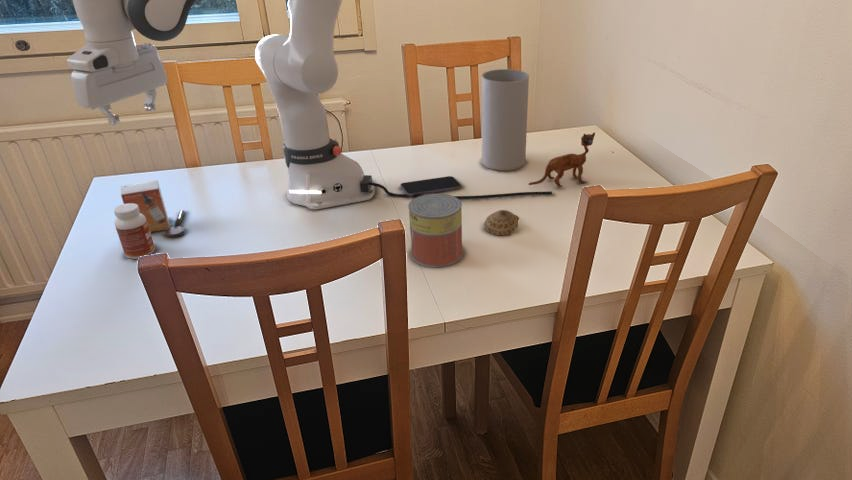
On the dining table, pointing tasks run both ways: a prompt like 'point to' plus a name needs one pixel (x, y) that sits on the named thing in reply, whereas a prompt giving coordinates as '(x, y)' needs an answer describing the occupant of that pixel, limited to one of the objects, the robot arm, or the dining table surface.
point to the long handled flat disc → (176, 227)
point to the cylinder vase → (504, 118)
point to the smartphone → (430, 185)
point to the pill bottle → (133, 231)
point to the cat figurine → (568, 163)
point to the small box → (148, 203)
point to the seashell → (501, 223)
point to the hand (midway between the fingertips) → (133, 116)
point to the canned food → (436, 229)
